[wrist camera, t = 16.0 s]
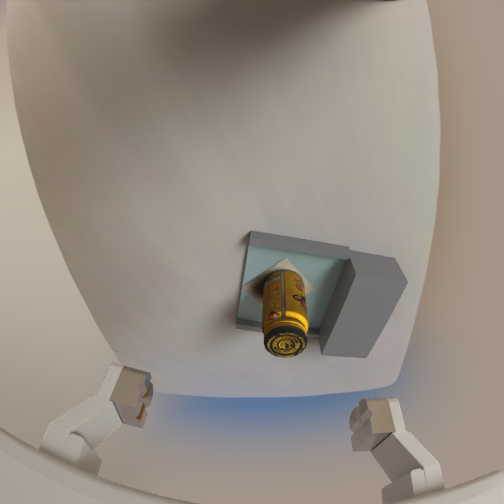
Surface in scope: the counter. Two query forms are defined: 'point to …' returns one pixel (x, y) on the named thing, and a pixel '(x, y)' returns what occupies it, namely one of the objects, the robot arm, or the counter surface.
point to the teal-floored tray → (329, 291)
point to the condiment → (282, 308)
